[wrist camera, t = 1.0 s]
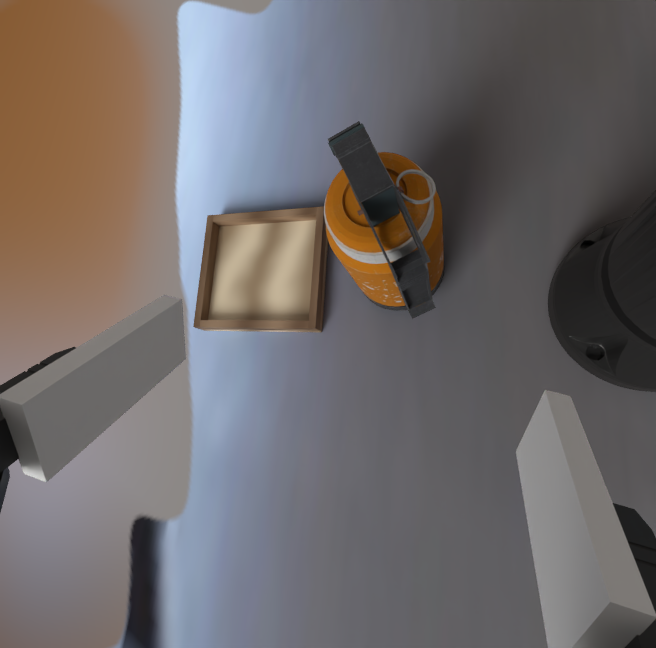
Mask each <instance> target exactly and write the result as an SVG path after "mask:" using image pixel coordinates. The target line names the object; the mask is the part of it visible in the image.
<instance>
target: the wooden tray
mask: <svg viewBox="0 0 656 648" xmlns="http://www.w3.org/2000/svg"><path fill="white" fill-rule="evenodd" d="M327 249H328V238H327V233H326V223H325V218H324V206H323V207H311V208H298V209H285V210H272V211H260V212H247V213H234V214H221V215H209V216H208V217H207V225H206V233H205V241H204V248H203V256H202V264H201V272H200V280H199V288H198V296H197V303H196V311H195V319H194V327H195V328H198V329H202V330H205V331H268V332H322V323H323V308H324V294H325V279H326V264H327Z"/></svg>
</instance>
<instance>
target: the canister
mask: <svg viewBox="0 0 656 648" xmlns="http://www.w3.org/2000/svg"><path fill="white" fill-rule="evenodd" d="M328 141H329V143H328V144H329V146H330V148H331V150H332V152H333V154H334V156H335V155H336V157H337V158H338V160H339V162H340V164H341V166H342V168H343V169H342V170H341V171H340V172H339V173H338V174H337V175H336V177H335V178H334V180H333V181H332V183H331V185H330V187H329V190H328V192H327V195H326V198H325V204H324V218H325V223H326V233H327V238H328V241H329V244H330V246H331V248H332V250H333V252H334V253H335V255H336V256H337V257H338V259H339V260H340V261H341V263H342V264H343V266H344V267H345V268H346V270H347V271H348V272H349V274H350V275H351V276H352V278H353V279H354V280H355V282H356V283H357V285H358V286H359V287H360V289H361V290H362V291H363V293H364V294H365V295H366V296H367V298H368V299H369V300H371V301H372V302H373V303H375V304H376V305H378V306H380V307H382V308H385V309H389V310H407V309H408V311H409V313H410V315H411V317H412V319H413V318H415V317H417V316H419V315H421V314H423V313H425V312H428V311H430V310H432V309H434V308H436V307H435V305H434V302H433V299H432V295H433V294H434V293H435V292H436V290H437V289H438V287H439V285H440V283H441V281H442V277H443V273H444V252H443V224H442V206H441V202H440V198H439V195H438V193H437V191H436V186H435V183H434V181H433V179H432V178H431V177H430V176H429V175H428V174H426V173H425V172H424V171H423V170H422V169H421V168H420V167H419V166H418V165H417V164H416V163H414V162H413V161H411V160H410V159H408V158H406V157H403V156H401V155H398V154H394V153H387V152H381V153H377V151H376V149H375V147H374V145H373V144H372V142H371V140H370V137H369V135H368V134H367V132H366V130H365V128H364V126H363V124H360V122H359V121H358V122H357V123H355V124H353V125H351V126H350V127H348V128H346V129H344V130H343V131H341V132H339V133H338V134H336V135H334V136H332V137H331V138H329V139H328Z"/></svg>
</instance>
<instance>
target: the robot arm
mask: <svg viewBox="0 0 656 648" xmlns="http://www.w3.org/2000/svg"><path fill="white" fill-rule="evenodd" d="M548 311H549V317H550V321H551V325H552V328H553V330H554V333H555V335H556V337H557V339H558V340H559V342H560V344H561V345H562V347H563V348H564V349H565V351H566V352H567V353H568V354H569V355H570V356H571V357H572V358H573V359H574V360H575V361H576V362H577V363H578V364H579V365H580V366H581V367H583V368H584V369H585V370H587V371H588V372H590V373H591V374H593V375H595V376H597V377H598V378H600V379H602V380H604V381H607V382H609V383H612V384H614V385H617V386H620V387H624V388H628V389H633V390H639V391H650V392H656V190H655V191H654V192H653V194H652V195H651V196H650V197H649V198H648V199H647V200H646V201H645V202H644V203H643V204H642V205H641V206H640V208H639V209H638V210H637V211H636V212H635V213H634V214H633V215H632V216H631V217H629V218H626V219H623V220H619V221H616V222H614V223H611V224H608V225H606V226H604V227H602V228H600V229H598V230H596V231H594V232H593V233H591V234H590V235H588V236H587V237H585V238H584V239H583V240H581V241H580V242H579V243H578V244H577V245H576V246H575V247H574V248H573V249H572V250H571V251H570V252H569V254H568V255H567V256H566V257H565V259H564V260H563V261H562V263H561V264H560V266H559V267H558V269H557V271H556V272H555V275H554V277H553V279H552V282H551V285H550V289H549V296H548ZM185 359H186V354H185V339H184V324H183V307H182V299H180V298H176V297H172V296H167V295H163V296H161V297H160V298H158V299H156V300H155V301H153V302H152V303H150V304H148V305H147V306H145V307H143V308H142V309H140V310H138V311H137V312H135V313H133V314H132V315H130V316H129V317H127V318H125V319H123V320H122V321H120V322H118V323H117V324H115V325H113V326H112V327H110V328H109V329H107V330H105V331H104V332H102V333H100V334H99V335H97V336H96V337H94V338H92V339H91V340H89V341H87V342H86V343H84V344H82V345H80V346H79V347H77V348H75V347H72V348H70V349H66V350H63V351H61V352H58V353H55V354H53V355H52V356H50V357H48V358H46V359H45V360H43V361H42V362H40V364H36V365H35V366H33V367H31V368H29V369H28V371H27V372H25V371H24V372H23V373H21V374H19V375H17V376H16V377H14V378H12V379H11V380H9V381H7V382H6V383H4V384H2V385H0V512H1V508H2V504H3V501H4V497H5V493H6V489H7V485H8V481H9V477H10V474H9V469H8V466H10V465H11V464H12V463H14V462H15V461H16V460H17V459H19V461H20V464H21V467H22V470H23V473H24V474H26V475H29V476H31V477H34V478H37V479H39V480H42V481H44V482H47V481H49V479H51V478H52V477H53V476H54V475H55V474H56V473H58V472H59V471H60V470H61V469H62V468H63V467H64V466H65V465H67V464H68V463H69V462H70V461H71V460H72V459H73V458H74V457H76V456H77V455H78V454H79V453H80V452H81V451H82V450H83V449H85V448H86V447H87V446H88V445H89V444H90V443H91V442H93V441H94V440H95V439H96V438H97V437H98V436H99V435H100V434H101V433H103V432H104V431H105V430H106V429H107V428H108V427H109V426H111V424H113V423H114V422H115V421H116V420H117V419H119V418H120V417H121V416H122V415H123V414H124V413H125V412H126V411H128V409H130V408H131V407H132V406H133V405H134V404H135V403H137V402H138V401H139V400H140V399H141V398H142V397H143V396H144V395H146V394H147V393H148V392H149V391H150V390H151V389H152V388H153V387H155V386H156V384H158V383H159V382H160V381H161V380H162V379H164V378H165V377H166V376H167V375H168V374H169V373H170V372H171V371H173V370H174V369H175V368H176V367H177V366H178V365H179V364H180V363H182V362H183V361H184V360H185ZM516 455H517V461H518V467H519V474H520V480H521V486H522V492H523V498H524V504H525V510H526V516H527V522H528V528H529V534H530V540H531V546H532V552H533V558H534V565H535V571H536V577H537V583H538V589H539V595H540V601H541V607H542V613H543V619H544V625H545V631H546V637H547V643H548V648H656V538H655V536H654V533H653V531H652V530H651V528H650V527H649V526H648V525H647V524H646V522H645V521H644V520H643V519H642V518H641V516H640V515H639V514H638V513H637V512H636V511H635V509H632V508H628V507H625V506H621V505H618V504H614V503H612V501H611V498H610V495H609V493H608V490H607V488H606V485H605V483H604V480H603V478H602V475H601V473H600V470H599V467H598V465H597V462H596V460H595V457H594V455H593V452H592V450H591V447H590V444H589V442H588V439H587V437H586V434H585V432H584V429H583V427H582V424H581V422H580V419H579V416H578V414H577V411H576V409H575V406H574V404H573V401H572V399H571V396H568V395H564V394H560V393H556V392H552V391H548V390H545V391H544V393H543V395H542V397H541V399H540V402H539V404H538V406H537V408H536V410H535V412H534V414H533V416H532V418H531V421H530V423H529V425H528V427H527V429H526V431H525V433H524V435H523V438H522V440H521V442H520V444H519V446H518V448H517V450H516Z"/></svg>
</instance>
